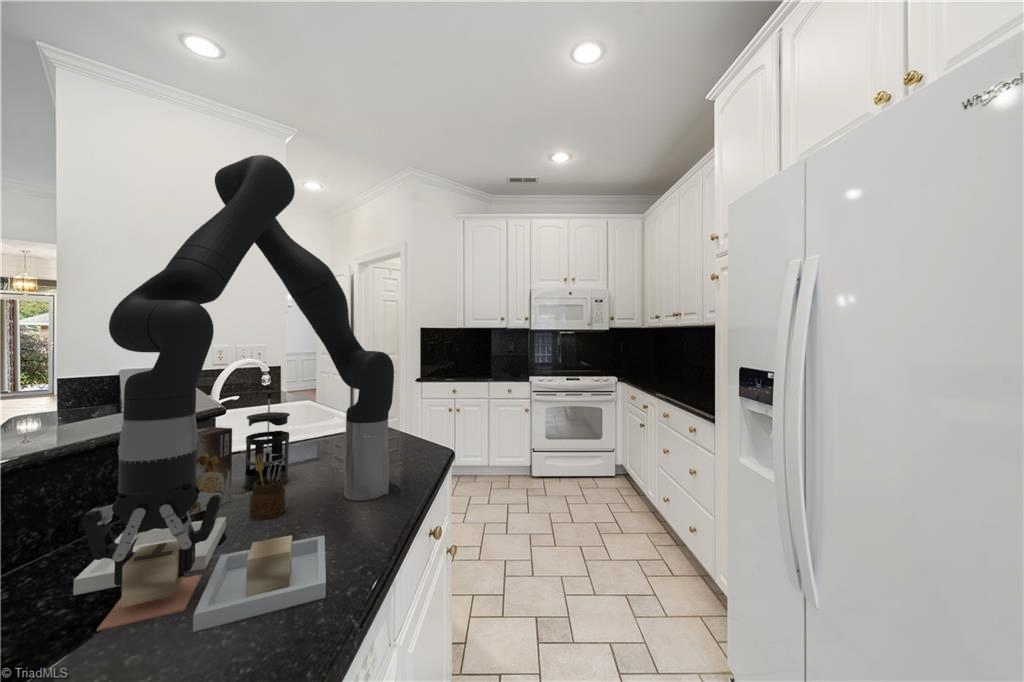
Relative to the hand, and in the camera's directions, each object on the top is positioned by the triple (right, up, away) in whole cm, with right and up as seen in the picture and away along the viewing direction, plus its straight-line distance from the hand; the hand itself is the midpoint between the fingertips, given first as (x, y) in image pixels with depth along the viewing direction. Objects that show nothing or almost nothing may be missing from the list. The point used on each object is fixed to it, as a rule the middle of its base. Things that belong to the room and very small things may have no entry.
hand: (155, 579), depth 50 cm
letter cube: (0, -1, 0) cm, 1 cm away
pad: (0, -3, 0) cm, 3 cm away
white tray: (-9, -3, +10) cm, 14 cm away
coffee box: (-18, -4, +29) cm, 34 cm away
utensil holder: (-2, -4, +26) cm, 26 cm away
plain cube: (+12, -3, +4) cm, 13 cm away
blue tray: (+12, -4, +4) cm, 14 cm away
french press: (-14, -4, +44) cm, 46 cm away
